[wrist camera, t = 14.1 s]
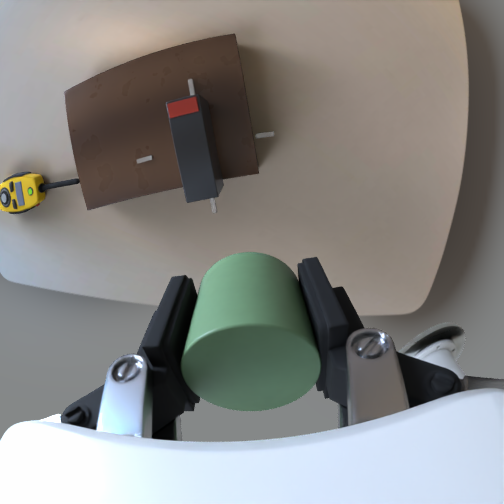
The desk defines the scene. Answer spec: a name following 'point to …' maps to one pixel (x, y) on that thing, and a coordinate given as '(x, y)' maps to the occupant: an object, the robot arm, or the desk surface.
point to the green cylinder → (250, 336)
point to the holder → (195, 147)
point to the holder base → (157, 120)
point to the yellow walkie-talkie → (26, 191)
